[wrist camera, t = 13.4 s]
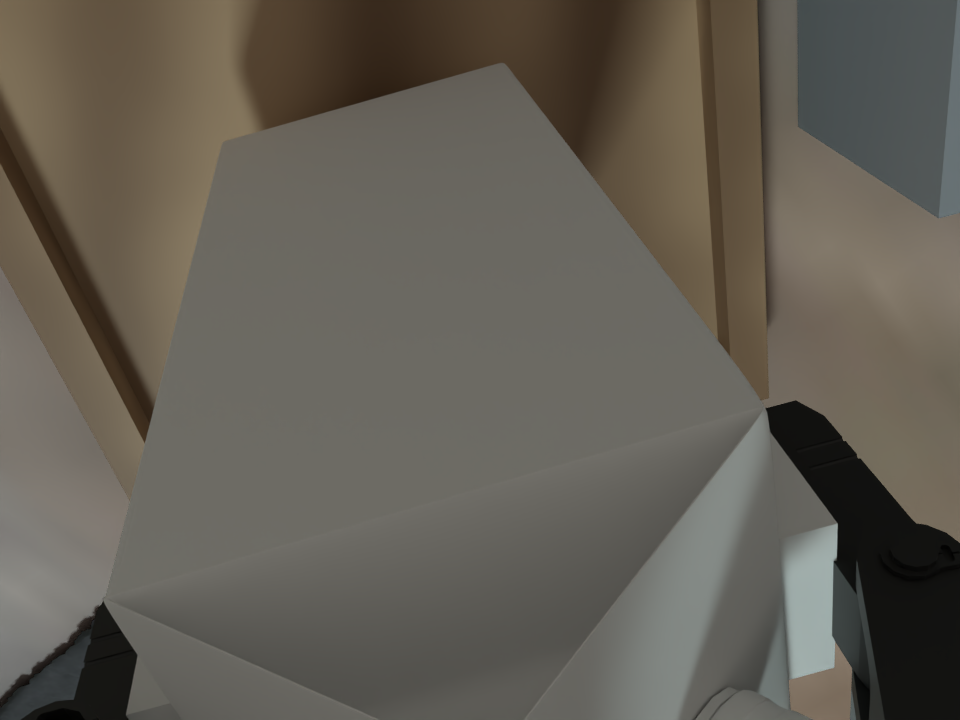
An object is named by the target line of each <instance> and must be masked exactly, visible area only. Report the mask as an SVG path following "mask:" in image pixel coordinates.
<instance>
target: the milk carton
mask: <svg viewBox="0 0 960 720" xmlns="http://www.w3.org/2000/svg"><path fill="white" fill-rule="evenodd" d="M103 601H104V603H105V605H106V607H107V609H108V610H109V612H110V614H111V615H112V617H113V618H114V620H115V622H116V623H117V625H118V626H119V628H120V629H121V631H122V632H123V634H124V635H125V637H126V638H127V640H128V641H129V643H130V644H131V646H132V647H133V649H134V650H135V652H136V653H137V655H138V656H139V658H140V659H141V661H142V662H143V664H144V665H145V667H146V668H147V669H148V671H149V672H150V674H151V675H152V677H153V678H154V680H155V681H156V683H157V684H158V686H159V687H160V689H161V690H162V692H163V693H164V695H165V696H166V697H167V699H168V700H169V702H170V703H171V705H172V706H173V708H174V709H175V711H176V712H177V714H178V715H179V717H180V718H181V720H812V719H810V718H808V717H806V716H804V715H802V714H800V713H798V712H795V711H791V708H790V695H789V681H788V667H787V653H786V638H785V624H784V609H783V595H782V580H781V565H780V550H779V535H778V519H777V503H776V492H775V480H774V468H773V457H772V447H771V438H770V428H769V421H768V414H767V411H766V409H765V407H764V405H763V403H762V402H761V400H760V398H759V397H758V395H757V394H756V392H755V390H754V389H753V388H752V386H751V385H750V383H749V382H748V380H747V379H746V378H745V376H744V375H743V373H742V372H741V371H740V369H739V368H738V367H737V365H736V364H735V363H734V361H733V360H732V359H731V357H730V356H729V354H728V353H727V352H726V350H725V349H724V348H723V347H722V345H721V344H720V343H719V341H718V340H717V339H716V337H715V336H714V335H713V333H712V332H711V331H710V329H709V328H708V327H707V326H706V324H705V323H704V322H703V320H702V319H701V318H700V316H699V315H698V314H697V313H696V311H695V310H694V309H693V307H692V306H691V305H690V303H689V302H688V301H687V299H686V298H685V297H684V296H683V294H682V293H681V292H680V290H679V289H678V288H677V286H676V285H675V284H674V283H673V281H672V280H671V279H670V277H669V276H668V275H667V273H666V272H665V271H664V270H663V268H662V267H661V266H660V264H659V263H658V262H657V260H656V259H655V258H654V257H653V255H652V254H651V253H650V251H649V250H648V249H647V247H646V246H645V245H644V243H643V242H642V241H641V240H640V238H639V237H638V236H637V234H636V233H635V232H634V230H633V229H632V228H631V227H630V225H629V224H628V223H627V221H626V220H625V219H624V217H623V216H622V215H621V214H620V212H619V211H618V210H617V208H616V207H615V206H614V204H613V203H612V202H611V201H610V199H609V198H608V197H607V195H606V194H605V193H604V191H603V190H602V189H601V187H600V186H599V185H598V184H597V182H596V181H595V180H594V178H593V177H592V176H591V174H590V173H589V172H588V171H587V169H586V168H585V167H584V165H583V164H582V163H581V161H580V160H579V159H578V158H577V156H576V155H575V154H574V152H573V151H572V150H571V148H570V147H569V146H568V145H567V143H566V142H565V141H564V139H563V138H562V137H561V135H560V134H559V133H558V131H557V130H556V129H555V128H554V126H553V125H552V124H551V122H550V121H549V120H548V118H547V117H546V116H545V115H544V113H543V112H542V111H541V109H540V108H539V107H538V105H537V104H536V103H535V102H534V100H533V99H532V98H531V96H530V95H529V94H528V92H527V91H526V90H525V89H524V87H523V86H522V85H521V83H520V82H519V81H518V79H517V78H516V77H515V75H514V74H513V73H512V72H511V70H510V69H509V68H508V66H507V65H506V64H504V63H498V64H494V65H491V66H487V67H484V68H480V69H477V70H473V71H470V72H466V73H463V74H459V75H456V76H452V77H449V78H445V79H442V80H438V81H435V82H431V83H427V84H424V85H420V86H417V87H413V88H410V89H406V90H403V91H399V92H396V93H392V94H389V95H385V96H382V97H378V98H375V99H371V100H368V101H364V102H361V103H357V104H354V105H350V106H347V107H343V108H340V109H336V110H332V111H329V112H325V113H322V114H318V115H315V116H311V117H308V118H304V119H301V120H297V121H294V122H290V123H287V124H283V125H280V126H276V127H273V128H269V129H266V130H262V131H259V132H255V133H252V134H248V135H245V136H241V137H238V138H234V139H231V140H227V141H225V142H223V143H222V146H221V149H220V153H219V157H218V161H217V164H216V168H215V172H214V176H213V180H212V184H211V188H210V192H209V196H208V200H207V203H206V207H205V211H204V215H203V219H202V223H201V227H200V231H199V235H198V238H197V242H196V246H195V250H194V254H193V258H192V262H191V266H190V270H189V274H188V277H187V281H186V285H185V289H184V293H183V297H182V301H181V305H180V309H179V312H178V316H177V320H176V324H175V328H174V332H173V336H172V340H171V344H170V348H169V351H168V355H167V359H166V363H165V367H164V371H163V375H162V379H161V383H160V386H159V390H158V394H157V398H156V402H155V406H154V410H153V414H152V418H151V422H150V425H149V429H148V433H147V437H146V441H145V445H144V449H143V453H142V457H141V460H140V464H139V468H138V472H137V476H136V480H135V484H134V488H133V492H132V495H131V499H130V503H129V507H128V511H127V515H126V519H125V523H124V527H123V531H122V534H121V538H120V542H119V546H118V550H117V554H116V558H115V562H114V566H113V569H112V573H111V577H110V581H109V585H108V589H107V593H106V596H105V597H104V598H103Z"/></svg>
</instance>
